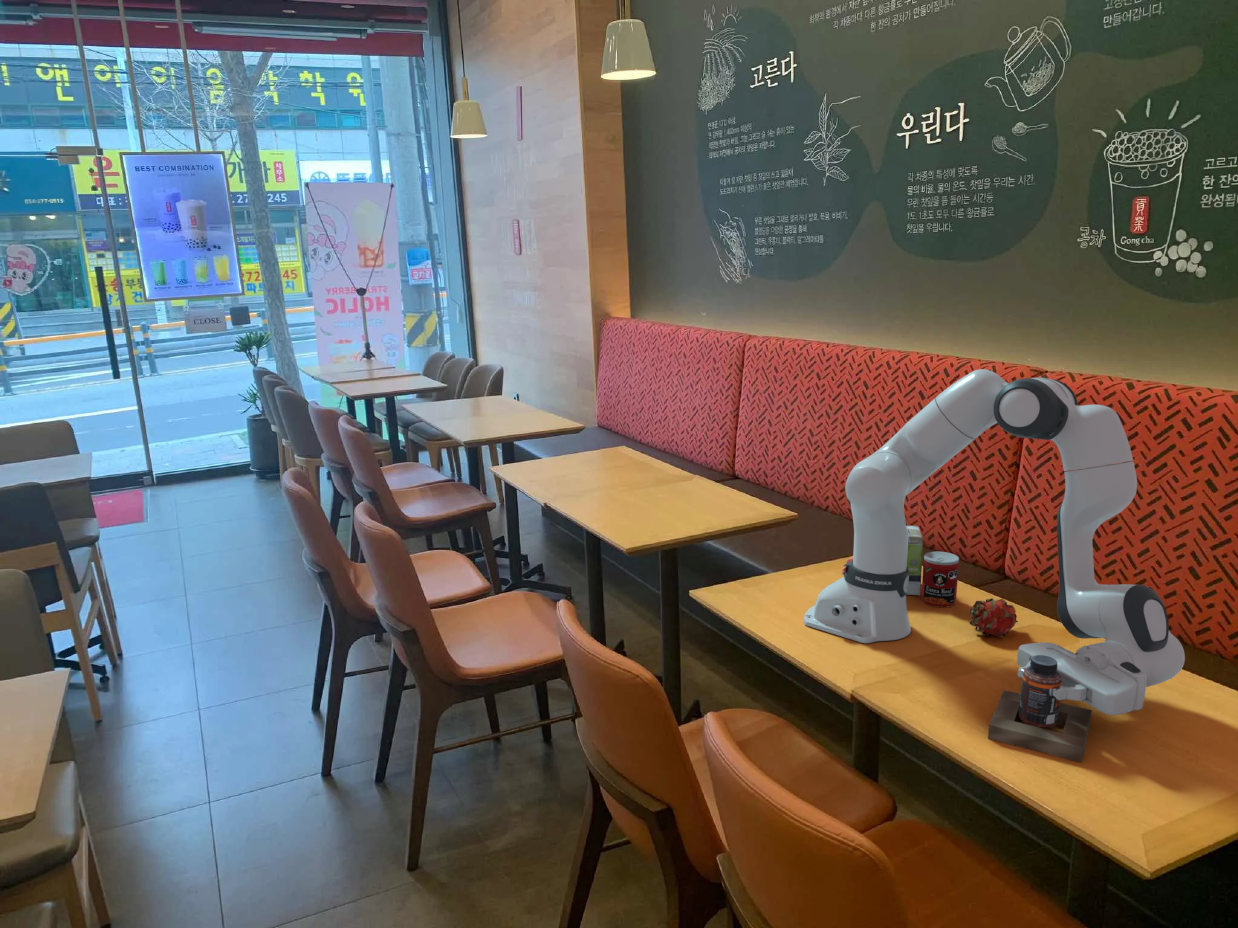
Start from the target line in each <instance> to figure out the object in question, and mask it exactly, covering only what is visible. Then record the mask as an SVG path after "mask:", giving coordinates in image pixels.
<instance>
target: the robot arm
mask: <svg viewBox="0 0 1238 928" xmlns="http://www.w3.org/2000/svg"><path fill="white" fill-rule="evenodd" d="M996 424H998V425H999V426H1000V428H1001V429H1002V430H1004V431H1005V432H1006V433H1008V434H1010V435H1012V436H1015V437H1017V438H1024V439H1034V440H1035V439H1037V440H1043V441H1052V442H1054V444H1055V445H1056V446H1057V448H1058V451H1059V454H1060V459H1061V463H1062V467H1063V469H1062V470H1063V471H1064V472H1063V473H1064V474H1063V475H1064V482H1065V484H1064V487H1065V489H1064V497H1063V501H1062V502H1061V503H1060V505H1059V507H1058V509H1057V516H1056V538H1057V539H1056V541H1057V554H1058V555H1057V556H1058V573H1059V574H1058V575H1059V577H1058V578H1059V579H1058V580H1059V589H1058V595H1057V596H1058V597H1057V605H1056V609H1057V610H1056V611H1057V616H1058V618H1059V621H1060V623H1061V624H1062V626H1063V627H1064V628H1065V630H1066V631H1067V632H1068V633H1069V634H1070V635H1072V636H1074V637H1075V638H1078V639H1082V640H1083V639H1086V640H1087V639H1101V638H1102V639H1105V640H1104V641H1101V642H1097V643H1091V644H1088V645H1084V646H1081V647H1079V648H1078V649H1077V650H1076V651H1075V653H1074V651H1073V652H1072V651H1070V650H1069V649H1066V648H1064V647H1063V646H1061V645H1059V644H1056V643H1053V642H1034V643H1032V642H1031V643H1025V644H1021V645H1020V646H1018V649H1017V654H1016V656H1017V657H1016V664H1017V665H1018V666H1019V667H1018V669H1017V677H1018V678H1019V679H1022V678H1023V672H1024V670H1025V669H1026V668H1027V667H1029V666H1031V665H1030V663H1031V657H1032V656H1035V655H1045V656H1049V657H1052V658H1054V659H1055V660H1056V661H1057V672H1059V673H1060V675H1061V677H1062V686H1061V685H1059V686H1054V687H1053V688H1052V693H1051V696H1053V697H1054V698H1056V699H1058V700H1060V701H1063V700H1071V701H1079V702H1083V703H1085V704H1087V706H1088V705H1089V706H1090V707H1092V708H1094V709H1095V710H1097V711H1099V712H1100V713H1102V714H1105V715H1109V716H1118V715H1119V716H1120V715H1124V714H1127V713H1130V712H1132V711H1140V710H1142V709H1143V707H1144V701H1145V698H1146V691H1147V688H1149V687H1152V686H1155V685H1158V684H1162V683H1164V682H1166V681H1169V680H1171V679H1173V678H1174V677H1176V676H1177V675H1178V674H1179V673H1180V672H1181V670H1183V669H1182V668H1183V667H1184V665H1185V661H1186V656H1185V655H1186V654H1185V650H1184V647H1183V645H1182V643H1181V642H1180V640H1179V639H1178V638H1177V637H1176V636H1174V635H1173V634H1172V633H1171V631H1170V630H1169V629H1170V627H1169V626H1170V625H1169V624H1170V622H1169V616H1168V611H1167V609H1166V607H1165V604H1164V602H1163V600H1162V598H1161V596H1160V595H1159V594H1158V593H1157V592H1156V591H1155V590H1153V589H1152V588H1151V587H1149V586H1147V585H1145V584H1131V583H1130V584H1124V583H1122V584H1121V583H1120V584H1117V583H1116V584H1099V583H1098V582H1097V581H1096V579H1095V572H1094V571H1095V568H1094V567H1095V566H1094V552H1093V551H1094V548H1093V539H1094V534H1095V533H1096V531H1097V529H1098V528H1099V527H1100V526H1101V525H1102V524H1103V523H1105V522H1106V521H1107V520H1109V519H1111V518H1113V517H1115V516H1116V515H1118V514H1120V513H1121V512H1123V511H1124V510H1125V509H1126V508H1127V507H1128V506H1129V505H1130V504H1131V502H1132V501H1133V500H1134V498H1135V496H1136V494H1137V488H1138V487H1137V486H1138V477H1137V472H1136V468H1135V467H1136V466H1135V463H1134V458H1133V453H1132V450H1131V447H1130V443H1129V440H1128V437H1127V433H1126V431H1125V428H1124V427H1123V423H1122V421H1121V419H1120V416H1119V415H1118V413H1117V412H1116V411H1115V409H1113V408H1112V407H1109V406H1105V405H1103V404H1095V403H1094V404H1085V405H1079V402H1078V398H1077V396H1076V394H1075V392H1074V391H1073V390H1072V389H1071V388H1070V386H1069V385H1068V384H1066V383H1064V382H1063V381H1060V380H1058V379H1053V378H1047V377H1039V376H1038V377H1037V376H1036V377H1028V378H1027V377H1026V378H1019V379H1016V380H1013V381H1011V382H1007V381H1005V379H1004V378H1002V377H1001V376H1000V375H999V374H998V373H996V372H994V371H992V370H990V369H984V368H981V369H975V370H973V371H971V372H970V373H968V374H966V375H963V377H961V378H960V379H958V380H956V381H955V382H953V383H952V384H951V385H949V386H948V387H947V388H945V389H944V390H943V391H942V392H941V393H939V394H938V395H937V396H936V397H935V398H934V399H932V400H931V401H930V402H929V403H928V404H927V405H925V406H924V407H923V408H922V409H921V410H919V411H918V412H917V414H915V415H914V416H913V417H911V419H909V420H908V421H907V422H906V423H905V424H904V425H903V426H902V428H900V429H899V430H898V432H896V433H895V434H894V435H893V436H892V437H891V438H890V439H889V440H887V442H886V443H885V444H884V445H883V446H881V447H880V448H879V449H877V450H875V452H873V453H872V454H871V455H869V456H868V457H866V458H864V459H862V460H861V461H858V462H857V464H856V465H855V466H853V468H852V469H851V471H850V473H849V474H848V476H847V479H846V481H845V486H844V489H845V494H846V497H847V499H848V501H849V503H850V507H851V508H850V509H851V515H852V521H853V534H854V535H853V553H852V554H853V555H852V556H851V557H849V558H848V559H847V560H846V562H845V564H844V565H843V567H842V569H841V575H843V577H841V578H839V579H837V580H835V581H833V582H832V583H831V584H829V585H827V586H826V587H824V588H823V589H822V590H821V591H820V592H819V594H818V596H817V598H816V603H815V604H814V605H813V606H811V607H809V609H807V610H806V612H805V614H804V617H803V623H804V625H805V626H808V627H810V628H813V629H816V630H820V631H823V632H827V633H829V634H833V635H836V636H839V637H841V638H842V637H843V638H846V639H849V640H852V641H854V642H855V641H856V642H858V643H862V644H871V643H876V642H882V641H883V642H884V641H895V640H901V639H903V638H905V637H907V636H908V635H910V634H911V632H912V628H911V625H910V621H909V616H908V615H909V614H908V606H907V605H908V604H907V591H908V584H909V576H908V574H909V569H908V567H907V555H908V539H909V532H908V529H907V528H906V526H907V525H906V524H907V523H906V518H905V507H904V506H905V499H906V496H907V495H909V494H910V493H911V492H912V491H914V490H915V489H916V488H917V487H918V486H920V485H921V484H922V483H923V482H924V481H926V480H927V479H928V478H930V476H932V475H934V473H935V472H937V471H938V470H939V469H940V468H941V467H943V466H944V465H945V464H946V463H948V462H950V460H952V459H953V458H954V457H955V456H956V455H957V454H959V453H960V452H961V451H962V450H963V449H965V448H967V446H968V445H970V444H971V443H972V442H974V441H975V440H976V439H977V438H978V437H979V436H981V435H982V434H983V433H984V432H985V431H986V430H988V429H989V428H991V427H992V426H994V425H996Z"/></svg>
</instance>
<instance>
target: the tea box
mask: <svg viewBox="0 0 1238 928" xmlns="http://www.w3.org/2000/svg"><path fill="white" fill-rule="evenodd" d="M906 528H907V529H908V532H909V539H908V555H907V567H908V569H909V574H908V576H909V584H908V591H907V594H906V596H907V595H911V596H921V593H922V574H923V552H924V551H923V548H924V547H923V545H924V537H923V535H922V533H921V530H920V527H919V526H918V525H906Z"/></svg>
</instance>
